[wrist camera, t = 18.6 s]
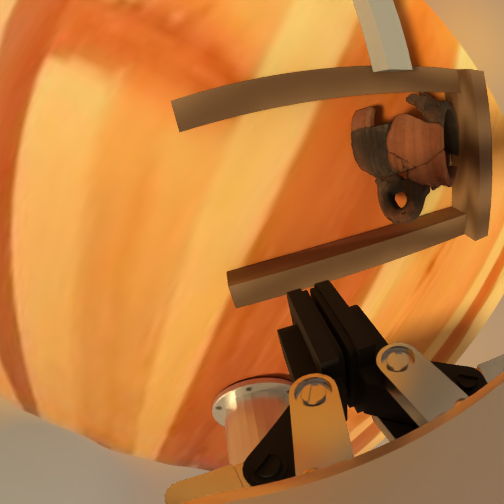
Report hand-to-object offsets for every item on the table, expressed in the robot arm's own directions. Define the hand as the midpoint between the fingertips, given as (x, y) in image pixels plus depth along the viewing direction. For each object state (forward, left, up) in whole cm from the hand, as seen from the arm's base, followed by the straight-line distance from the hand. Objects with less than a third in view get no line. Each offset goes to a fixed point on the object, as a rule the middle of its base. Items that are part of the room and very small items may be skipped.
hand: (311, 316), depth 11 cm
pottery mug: (+2, -14, -15) cm, 21 cm away
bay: (+1, -9, -15) cm, 18 cm away
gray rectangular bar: (+15, -12, -12) cm, 23 cm away
